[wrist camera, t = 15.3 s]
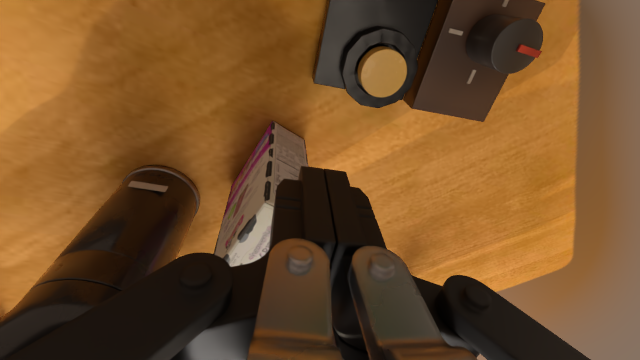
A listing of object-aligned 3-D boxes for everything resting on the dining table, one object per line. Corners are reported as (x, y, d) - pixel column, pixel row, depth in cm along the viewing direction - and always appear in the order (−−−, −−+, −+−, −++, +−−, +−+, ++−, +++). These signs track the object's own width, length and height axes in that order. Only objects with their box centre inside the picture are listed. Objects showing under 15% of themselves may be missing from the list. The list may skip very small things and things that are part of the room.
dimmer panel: (472, 113, 37) (486, 123, 34) (402, 100, 35) (412, 109, 33) (529, -1, 31) (551, 0, 28) (447, -24, 29) (463, -25, 26)
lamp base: (394, 101, 35) (405, 113, 32) (310, 85, 33) (313, 96, 30) (457, -83, 27) (481, -93, 23) (349, -117, 25) (358, -134, 21)
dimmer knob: (457, 57, 30) (483, 67, 26) (480, 8, 28) (513, 11, 24) (494, 68, 31) (524, 80, 27) (519, 21, 29) (557, 27, 25)
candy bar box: (264, 201, 41) (251, 307, 28) (230, 186, 40) (199, 291, 26) (308, 138, 37) (319, 228, 23) (272, 118, 35) (261, 202, 21)
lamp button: (392, 95, 31) (397, 101, 30) (352, 87, 30) (355, 93, 29) (407, 51, 29) (414, 54, 27) (364, 41, 28) (368, 44, 27)
